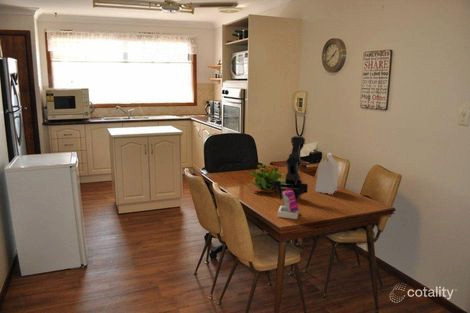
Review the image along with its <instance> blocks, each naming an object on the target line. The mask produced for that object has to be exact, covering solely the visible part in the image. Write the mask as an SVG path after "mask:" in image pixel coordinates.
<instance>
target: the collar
mask: <svg viewBox="0 0 470 313" xmlns="http://www.w3.org/2000/svg"><path fill="white" fill-rule="evenodd" d="M299 211H300V209H299V210H298V211H295V212H288V211H287V210H286V206H285V205H280V206H279V209H278V210H277V218H285V219H291V220H292V219H293V220H297V219H298V217H299Z"/></svg>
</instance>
